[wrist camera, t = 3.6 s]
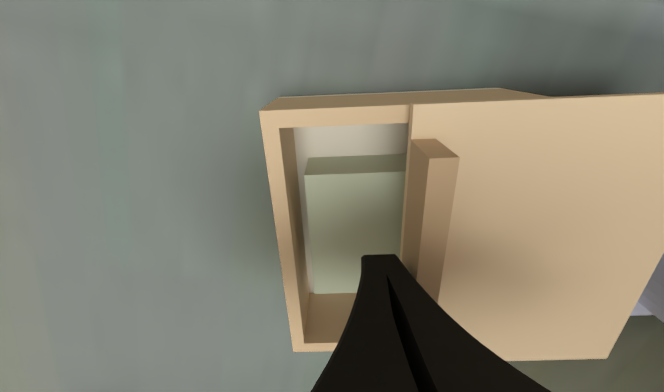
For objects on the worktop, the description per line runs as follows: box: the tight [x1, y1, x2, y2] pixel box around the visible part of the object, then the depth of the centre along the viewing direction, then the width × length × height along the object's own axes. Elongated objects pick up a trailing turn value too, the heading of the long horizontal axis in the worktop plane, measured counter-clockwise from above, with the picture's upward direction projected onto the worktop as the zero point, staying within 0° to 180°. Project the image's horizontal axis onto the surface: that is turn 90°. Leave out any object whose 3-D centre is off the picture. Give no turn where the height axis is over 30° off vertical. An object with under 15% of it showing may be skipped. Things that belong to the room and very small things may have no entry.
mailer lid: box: [400, 92, 664, 361], centre depth 11 cm, size 10×12×2 cm
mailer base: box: [259, 88, 549, 352], centre depth 14 cm, size 10×12×4 cm
